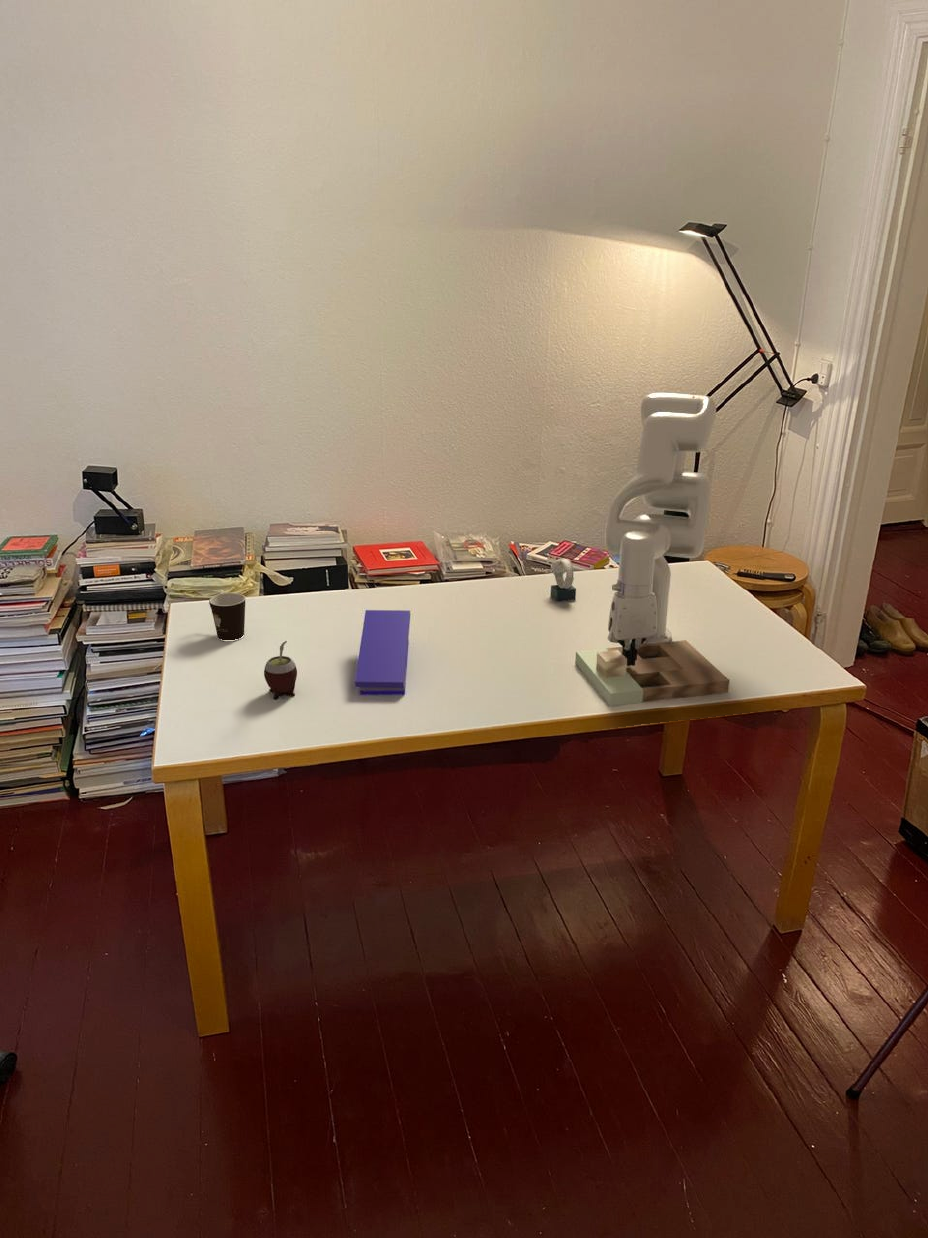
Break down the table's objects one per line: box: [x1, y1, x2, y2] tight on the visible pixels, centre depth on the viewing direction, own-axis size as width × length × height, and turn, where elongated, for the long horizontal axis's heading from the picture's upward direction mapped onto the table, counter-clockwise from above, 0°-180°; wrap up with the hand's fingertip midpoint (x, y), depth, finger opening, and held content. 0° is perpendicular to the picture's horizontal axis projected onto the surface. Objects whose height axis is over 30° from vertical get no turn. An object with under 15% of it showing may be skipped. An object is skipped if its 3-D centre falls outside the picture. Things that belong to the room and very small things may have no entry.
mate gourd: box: [263, 640, 298, 701], centre depth 217 cm, size 8×8×15 cm
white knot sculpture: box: [550, 557, 577, 603], centre depth 271 cm, size 6×8×11 cm
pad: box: [574, 647, 643, 707], centre depth 226 cm, size 8×22×3 cm, turn 14°
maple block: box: [596, 650, 627, 678], centre depth 223 cm, size 5×5×4 cm
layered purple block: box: [354, 609, 411, 696], centre depth 230 cm, size 12×28×10 cm, turn 1°
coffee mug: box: [208, 592, 246, 640], centre depth 247 cm, size 12×9×10 cm
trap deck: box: [606, 640, 731, 703], centre depth 229 cm, size 20×22×3 cm
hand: (628, 663), depth 226 cm, fingers closed
